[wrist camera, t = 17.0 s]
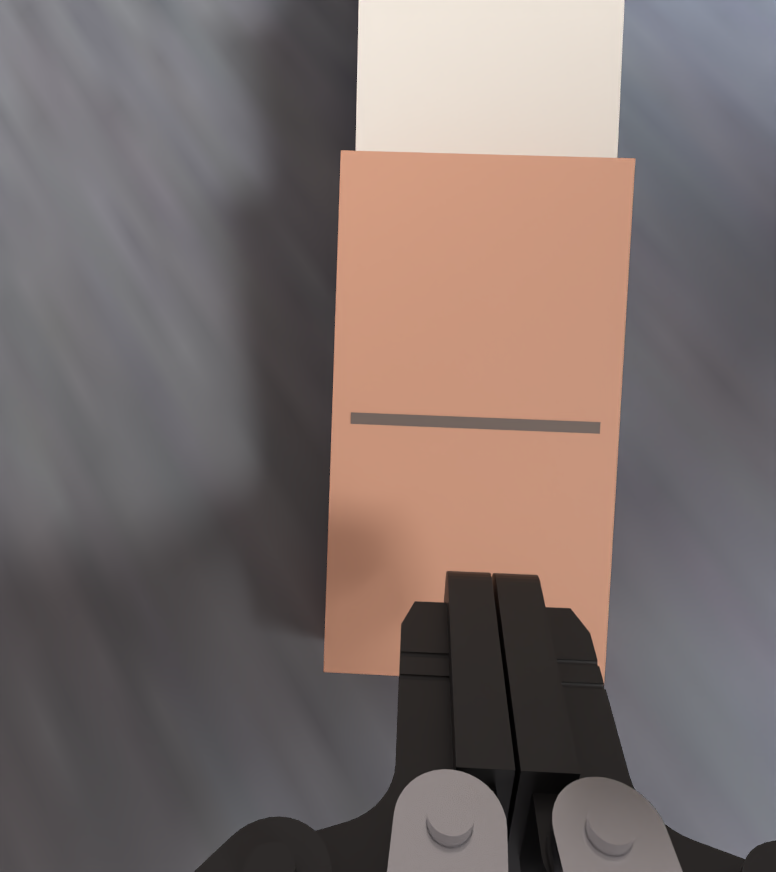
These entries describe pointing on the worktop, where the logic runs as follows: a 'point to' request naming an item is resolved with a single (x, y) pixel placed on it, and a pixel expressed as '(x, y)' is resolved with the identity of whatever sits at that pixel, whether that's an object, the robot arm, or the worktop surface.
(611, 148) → the ivory tile
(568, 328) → the rust tile
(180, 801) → the worktop surface
